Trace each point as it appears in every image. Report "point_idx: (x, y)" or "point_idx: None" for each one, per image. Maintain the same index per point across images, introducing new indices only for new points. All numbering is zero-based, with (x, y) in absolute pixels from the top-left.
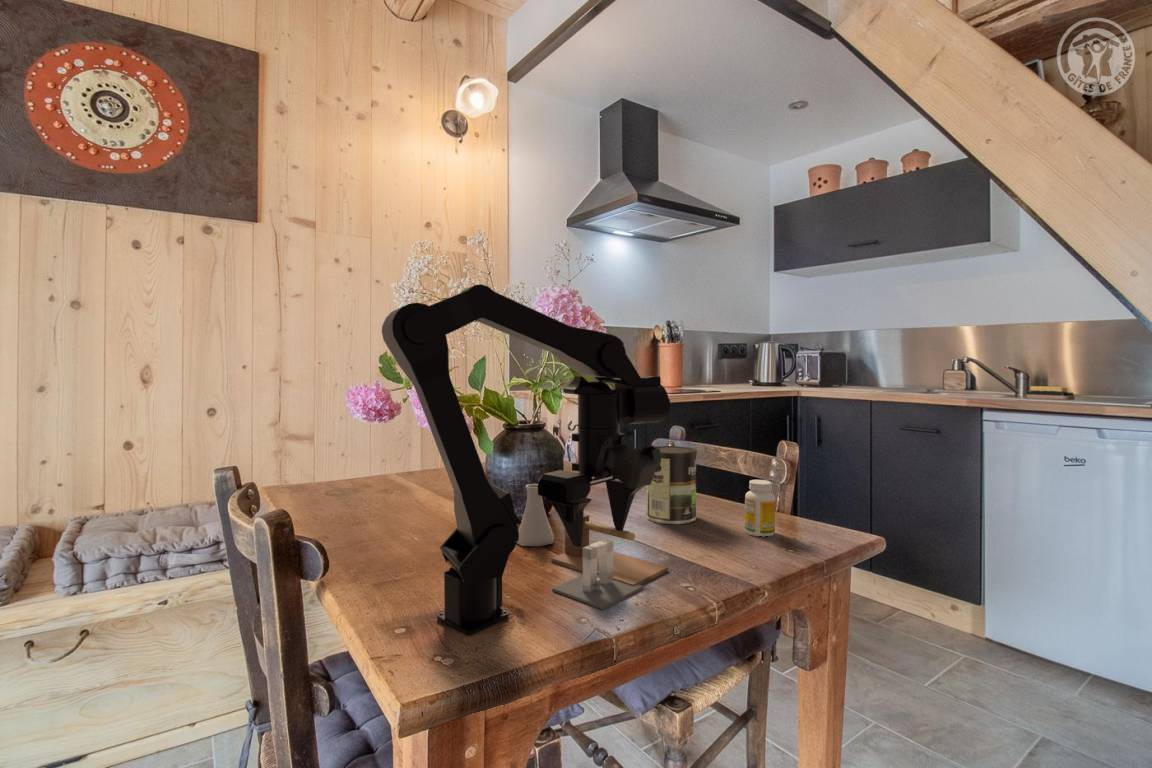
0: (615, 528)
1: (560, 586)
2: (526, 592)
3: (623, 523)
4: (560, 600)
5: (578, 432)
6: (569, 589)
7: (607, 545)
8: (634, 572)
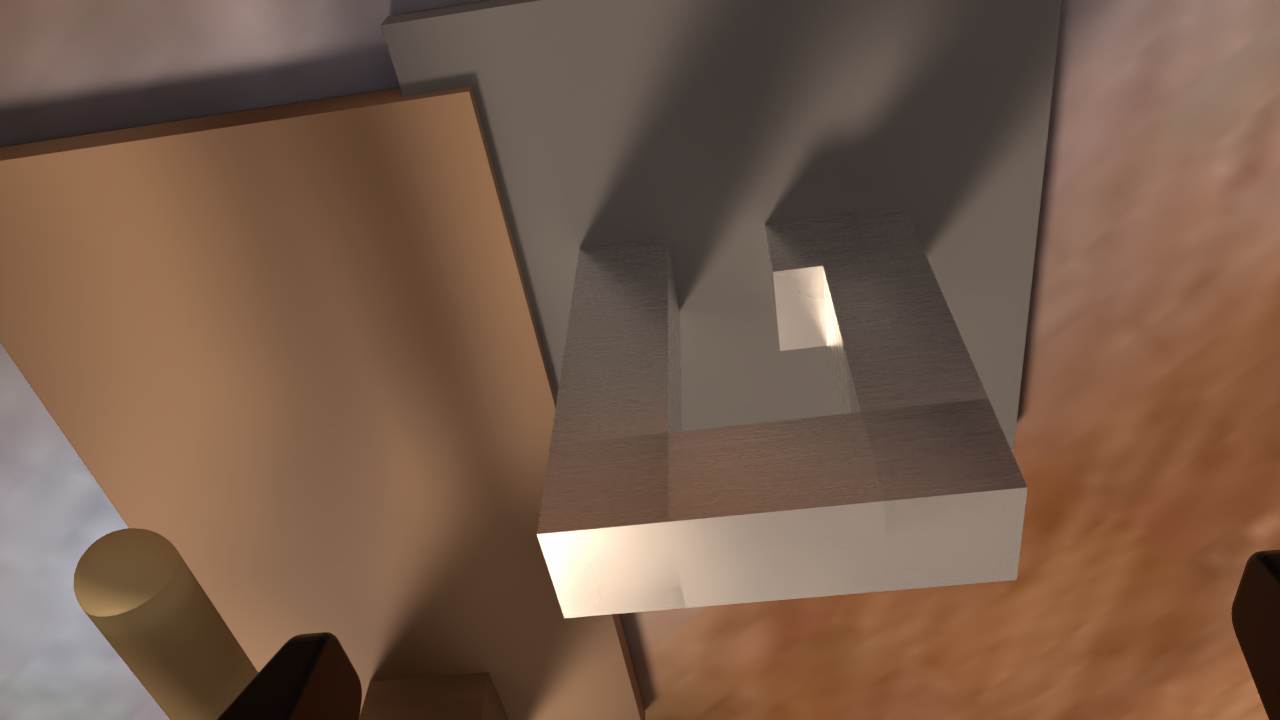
0: (360, 705)
1: None
2: (1137, 508)
3: (261, 718)
4: (1110, 290)
5: None
6: None
7: (656, 501)
8: (280, 277)
